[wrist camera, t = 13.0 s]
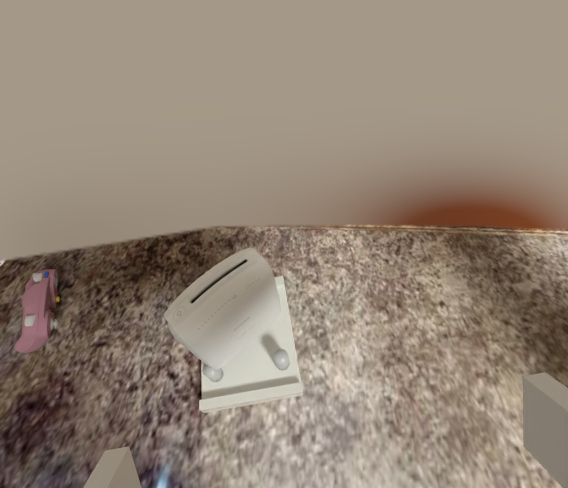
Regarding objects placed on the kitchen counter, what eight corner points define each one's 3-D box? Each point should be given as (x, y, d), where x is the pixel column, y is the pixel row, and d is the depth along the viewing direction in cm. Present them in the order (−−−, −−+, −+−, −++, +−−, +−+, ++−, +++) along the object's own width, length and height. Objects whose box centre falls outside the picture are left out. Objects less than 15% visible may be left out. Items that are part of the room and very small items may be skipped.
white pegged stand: (303, 395, 36) (302, 388, 33) (204, 412, 36) (193, 408, 32) (284, 283, 44) (281, 268, 40) (202, 297, 44) (193, 283, 40)
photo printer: (215, 379, 34) (174, 344, 23) (192, 348, 36) (145, 304, 25) (288, 313, 37) (280, 258, 27) (263, 288, 39) (247, 228, 29)
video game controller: (60, 352, 42) (53, 330, 37) (15, 357, 40) (2, 334, 35) (67, 286, 48) (62, 259, 43) (27, 288, 46) (18, 259, 41)
